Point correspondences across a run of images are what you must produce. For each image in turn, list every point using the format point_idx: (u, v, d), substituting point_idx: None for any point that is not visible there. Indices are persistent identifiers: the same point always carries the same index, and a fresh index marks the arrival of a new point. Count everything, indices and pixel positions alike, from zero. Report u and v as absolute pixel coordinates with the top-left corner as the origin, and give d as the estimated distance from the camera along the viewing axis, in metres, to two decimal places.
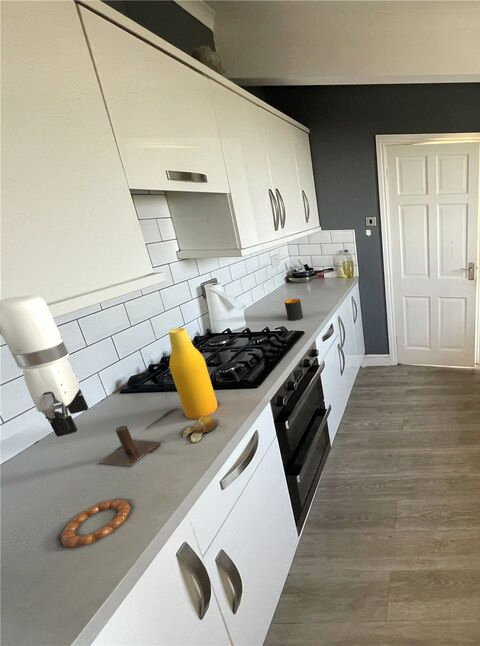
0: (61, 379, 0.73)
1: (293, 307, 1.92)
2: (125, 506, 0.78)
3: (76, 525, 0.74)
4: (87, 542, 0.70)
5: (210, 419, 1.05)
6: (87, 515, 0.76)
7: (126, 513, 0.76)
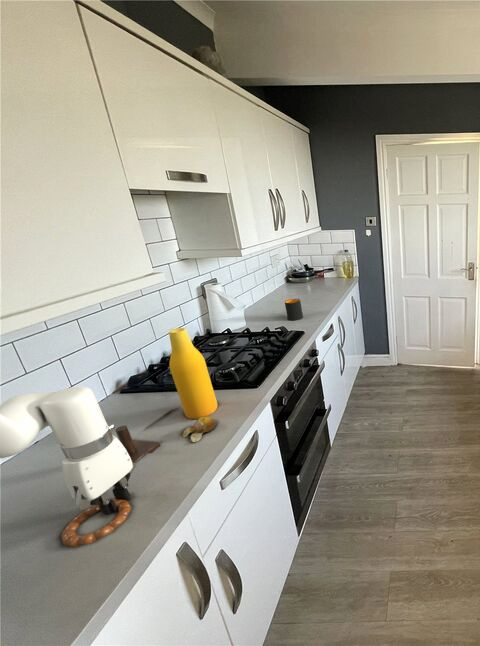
0: (90, 475, 0.71)
1: (293, 307, 1.92)
2: (126, 505, 0.78)
3: (77, 524, 0.74)
4: (88, 541, 0.71)
5: (210, 419, 1.05)
6: (88, 514, 0.77)
7: (127, 512, 0.77)
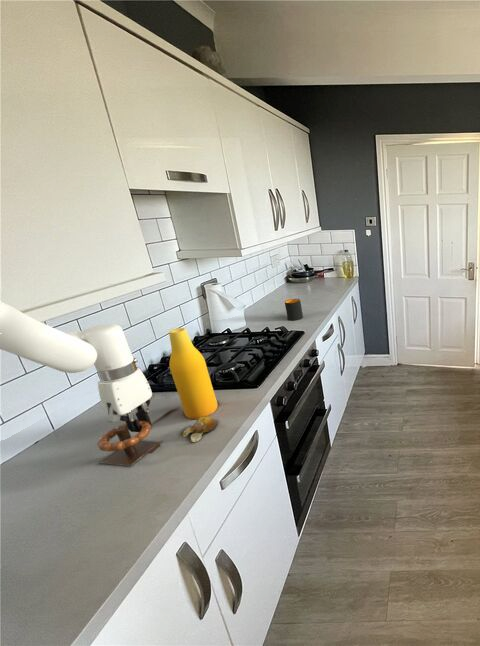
0: (120, 394, 0.90)
1: (293, 307, 1.92)
2: (147, 424, 0.96)
3: (109, 436, 0.93)
4: (119, 446, 0.89)
5: (210, 419, 1.05)
6: None
7: (148, 429, 0.95)
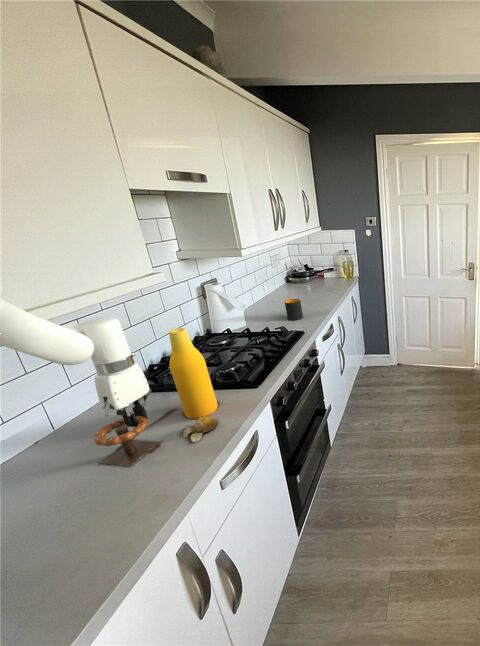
0: (117, 388, 0.89)
1: (293, 307, 1.92)
2: (144, 419, 0.95)
3: (105, 431, 0.92)
4: (115, 441, 0.88)
5: (210, 419, 1.05)
6: (114, 425, 0.94)
7: (145, 424, 0.94)
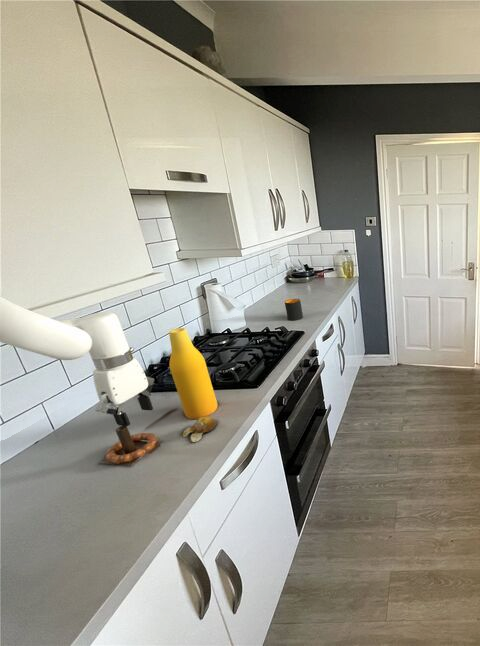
0: (115, 383, 0.89)
1: (293, 307, 1.92)
2: (153, 436, 0.98)
3: (116, 449, 0.95)
4: (126, 459, 0.91)
5: (210, 419, 1.05)
6: None
7: (154, 441, 0.97)
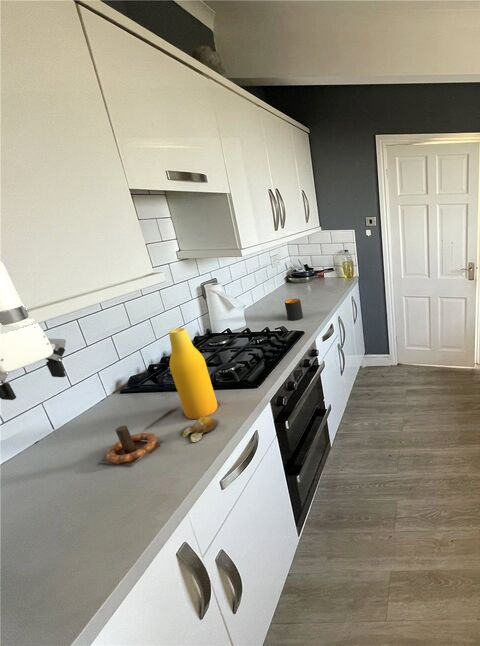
0: (1, 346, 0.72)
1: (293, 307, 1.92)
2: (153, 436, 0.98)
3: (116, 449, 0.95)
4: (126, 459, 0.91)
5: (210, 419, 1.05)
6: None
7: (154, 441, 0.97)
